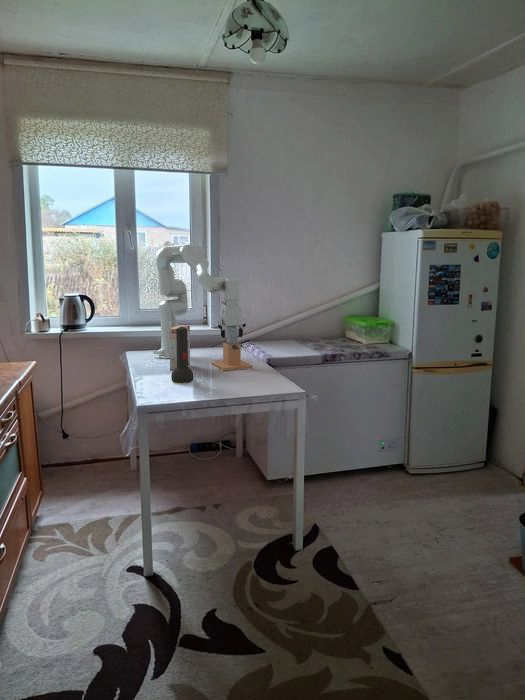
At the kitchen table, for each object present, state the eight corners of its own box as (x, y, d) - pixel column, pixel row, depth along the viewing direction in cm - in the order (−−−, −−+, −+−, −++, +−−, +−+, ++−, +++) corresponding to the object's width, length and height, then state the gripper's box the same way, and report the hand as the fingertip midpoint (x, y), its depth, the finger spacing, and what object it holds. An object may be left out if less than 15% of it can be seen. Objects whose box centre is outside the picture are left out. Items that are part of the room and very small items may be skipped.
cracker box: (181, 371, 246) (180, 328, 242) (169, 370, 248) (168, 328, 244) (190, 365, 260) (190, 325, 256) (179, 364, 261) (179, 324, 257)
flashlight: (167, 380, 229) (176, 384, 221) (166, 325, 224) (175, 328, 216) (187, 377, 234) (197, 381, 226) (187, 324, 230) (196, 326, 222)
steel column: (229, 363, 255) (229, 325, 251) (225, 362, 259) (225, 324, 255) (237, 363, 257) (238, 325, 253) (234, 361, 261) (234, 324, 258)
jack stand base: (223, 371, 248) (223, 347, 246) (211, 364, 262) (211, 341, 260) (252, 368, 255) (252, 344, 253) (239, 362, 269) (239, 340, 267)
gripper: (218, 304, 245) (218, 339, 248) (250, 303, 253) (250, 337, 256) (213, 303, 252) (213, 337, 255) (244, 302, 259) (244, 335, 263)
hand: (231, 337), depth 256 cm, fingers open, 9 cm apart
